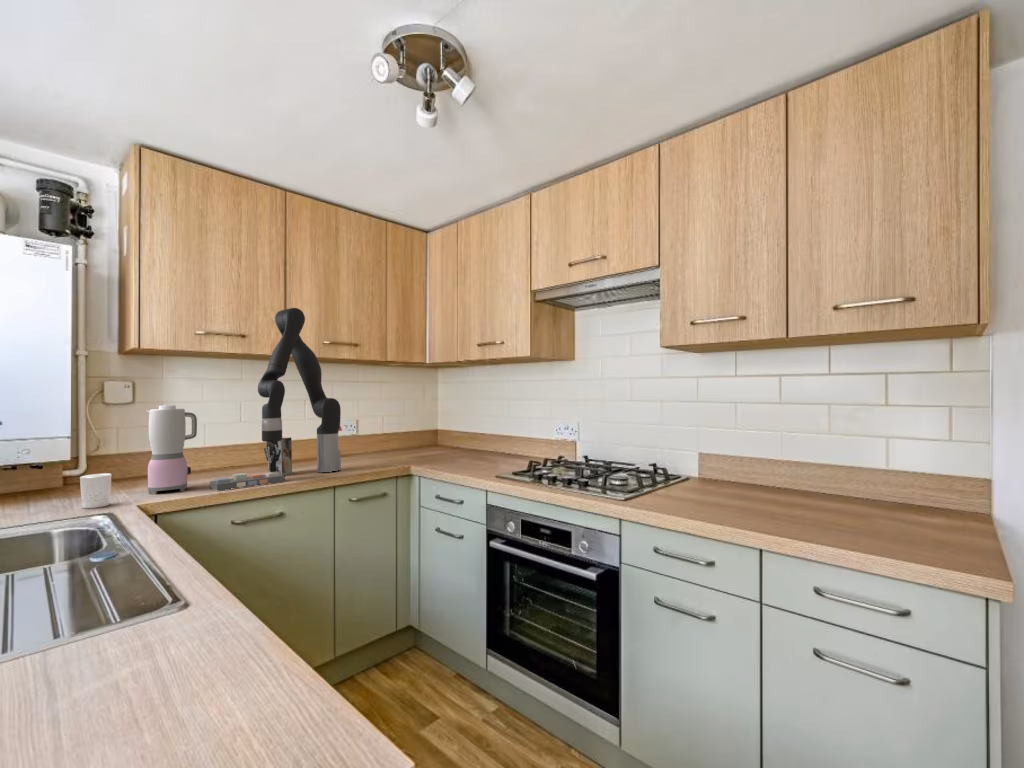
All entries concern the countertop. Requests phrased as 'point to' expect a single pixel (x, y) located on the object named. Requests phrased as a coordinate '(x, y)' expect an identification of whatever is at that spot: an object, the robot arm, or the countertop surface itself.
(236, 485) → the keypad
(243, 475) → the sage key
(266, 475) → the sand key
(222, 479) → the slate key
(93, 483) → the white cup
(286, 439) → the coffee box
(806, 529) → the countertop surface
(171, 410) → the blender
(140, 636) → the countertop surface
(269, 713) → the countertop surface
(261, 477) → the terracotta key
